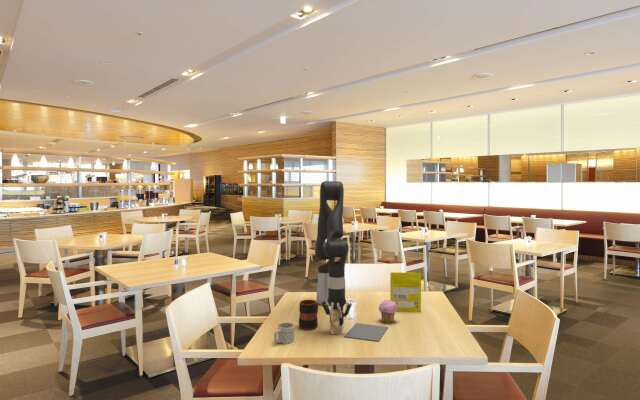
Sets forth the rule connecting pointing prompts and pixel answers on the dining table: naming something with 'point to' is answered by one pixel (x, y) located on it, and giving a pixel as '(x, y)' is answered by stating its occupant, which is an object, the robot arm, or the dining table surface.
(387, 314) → the cupcake
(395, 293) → the food package
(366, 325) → the mat
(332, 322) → the wooden block
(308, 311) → the mug
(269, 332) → the dining table surface
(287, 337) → the mug
